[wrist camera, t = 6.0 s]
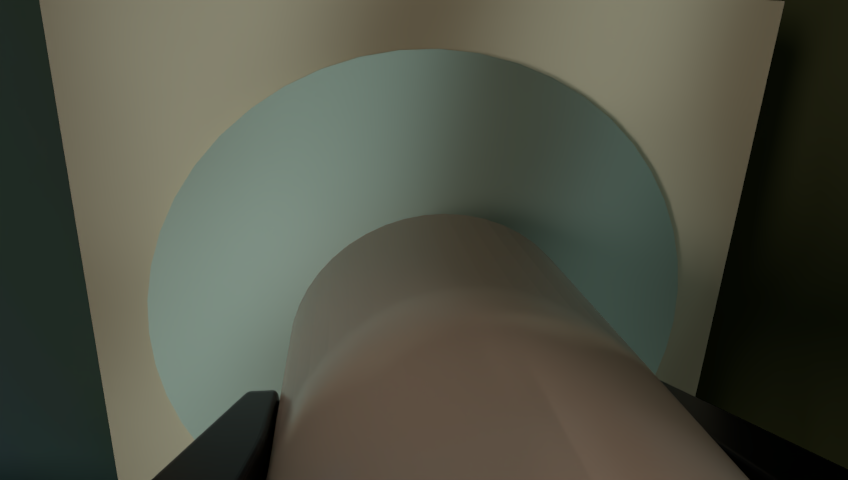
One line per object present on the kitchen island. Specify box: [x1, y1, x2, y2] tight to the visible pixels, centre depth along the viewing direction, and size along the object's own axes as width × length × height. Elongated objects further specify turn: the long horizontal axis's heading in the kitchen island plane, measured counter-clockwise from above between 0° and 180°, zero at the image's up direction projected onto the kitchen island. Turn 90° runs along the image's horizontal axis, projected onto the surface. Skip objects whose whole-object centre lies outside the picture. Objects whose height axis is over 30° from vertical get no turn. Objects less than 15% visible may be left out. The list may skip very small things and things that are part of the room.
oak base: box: [39, 0, 785, 480], centre depth 12 cm, size 12×12×3 cm
